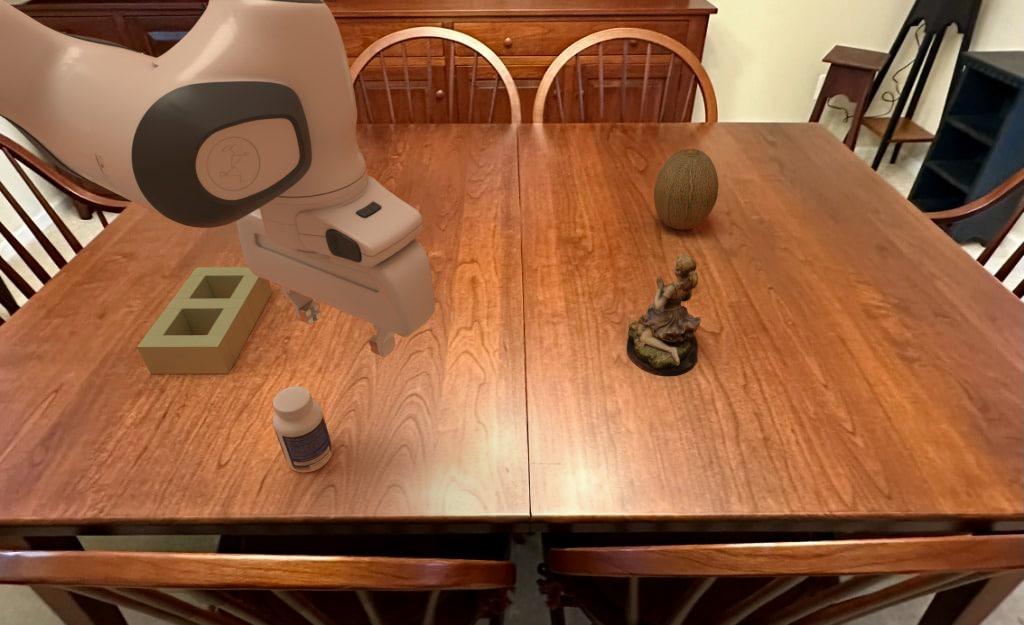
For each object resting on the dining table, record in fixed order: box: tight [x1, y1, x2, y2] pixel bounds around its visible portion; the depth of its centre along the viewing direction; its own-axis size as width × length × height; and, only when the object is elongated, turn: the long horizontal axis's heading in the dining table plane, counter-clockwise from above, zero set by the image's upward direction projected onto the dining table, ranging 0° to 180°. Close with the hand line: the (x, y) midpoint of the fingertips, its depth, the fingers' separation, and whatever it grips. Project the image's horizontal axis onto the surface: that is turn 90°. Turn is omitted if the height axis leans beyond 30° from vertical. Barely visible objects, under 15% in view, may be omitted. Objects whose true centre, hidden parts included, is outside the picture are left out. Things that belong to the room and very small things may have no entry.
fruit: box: [653, 148, 719, 231], centre depth 110 cm, size 11×11×15 cm
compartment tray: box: [136, 266, 273, 375], centre depth 89 cm, size 19×11×5 cm, turn 0°
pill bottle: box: [272, 385, 334, 473], centre depth 69 cm, size 5×5×10 cm
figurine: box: [626, 253, 702, 377], centre depth 83 cm, size 12×11×15 cm
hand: (345, 334), depth 58 cm, fingers open, 8 cm apart
